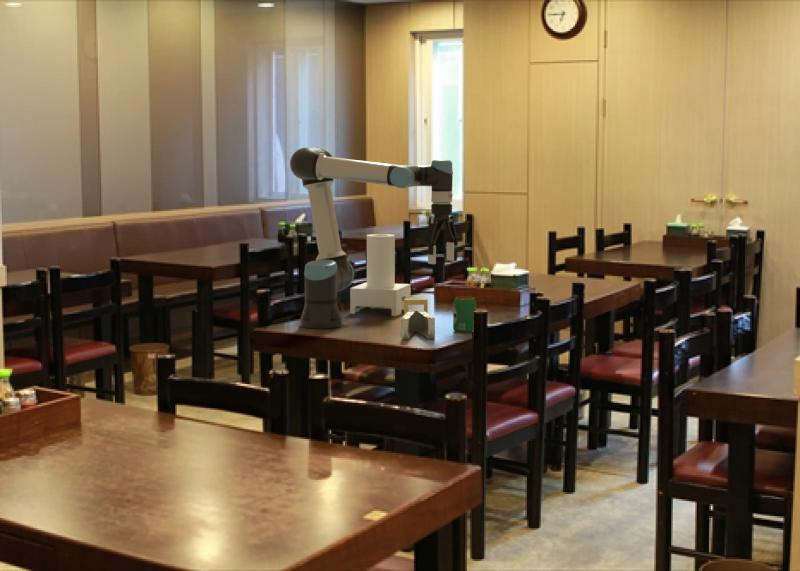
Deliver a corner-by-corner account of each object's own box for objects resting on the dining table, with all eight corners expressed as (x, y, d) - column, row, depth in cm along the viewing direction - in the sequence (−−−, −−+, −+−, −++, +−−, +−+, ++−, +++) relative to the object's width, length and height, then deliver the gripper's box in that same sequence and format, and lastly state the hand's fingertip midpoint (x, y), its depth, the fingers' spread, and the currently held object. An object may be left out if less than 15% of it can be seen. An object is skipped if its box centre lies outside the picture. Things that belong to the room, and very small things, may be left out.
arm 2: (417, 330, 403) (417, 310, 403) (423, 330, 404) (423, 310, 403) (428, 339, 386) (428, 318, 385) (435, 339, 386) (435, 318, 385)
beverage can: (451, 329, 407) (452, 296, 405) (474, 329, 407) (474, 296, 406) (454, 333, 399) (454, 299, 397) (477, 333, 399) (477, 299, 398)
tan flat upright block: (404, 328, 408) (404, 298, 407) (427, 328, 409) (427, 298, 407) (404, 329, 406) (404, 299, 405) (427, 329, 406) (427, 299, 405)
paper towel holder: (350, 313, 444) (349, 236, 440) (366, 306, 462) (365, 232, 458) (396, 316, 438) (396, 238, 434) (410, 309, 456) (410, 234, 452)
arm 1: (408, 330, 404) (408, 310, 403) (415, 330, 403) (415, 310, 403) (401, 339, 386) (401, 318, 385) (408, 339, 386) (408, 319, 385)
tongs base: (408, 328, 409) (408, 309, 408) (422, 328, 409) (422, 309, 408) (409, 330, 406) (409, 310, 405) (422, 330, 406) (422, 310, 405)
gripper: (433, 205, 397) (433, 266, 400) (467, 201, 419) (466, 259, 421) (415, 204, 401) (414, 264, 404) (449, 201, 422) (448, 258, 425)
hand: (441, 262), depth 413 cm, fingers open, 13 cm apart
